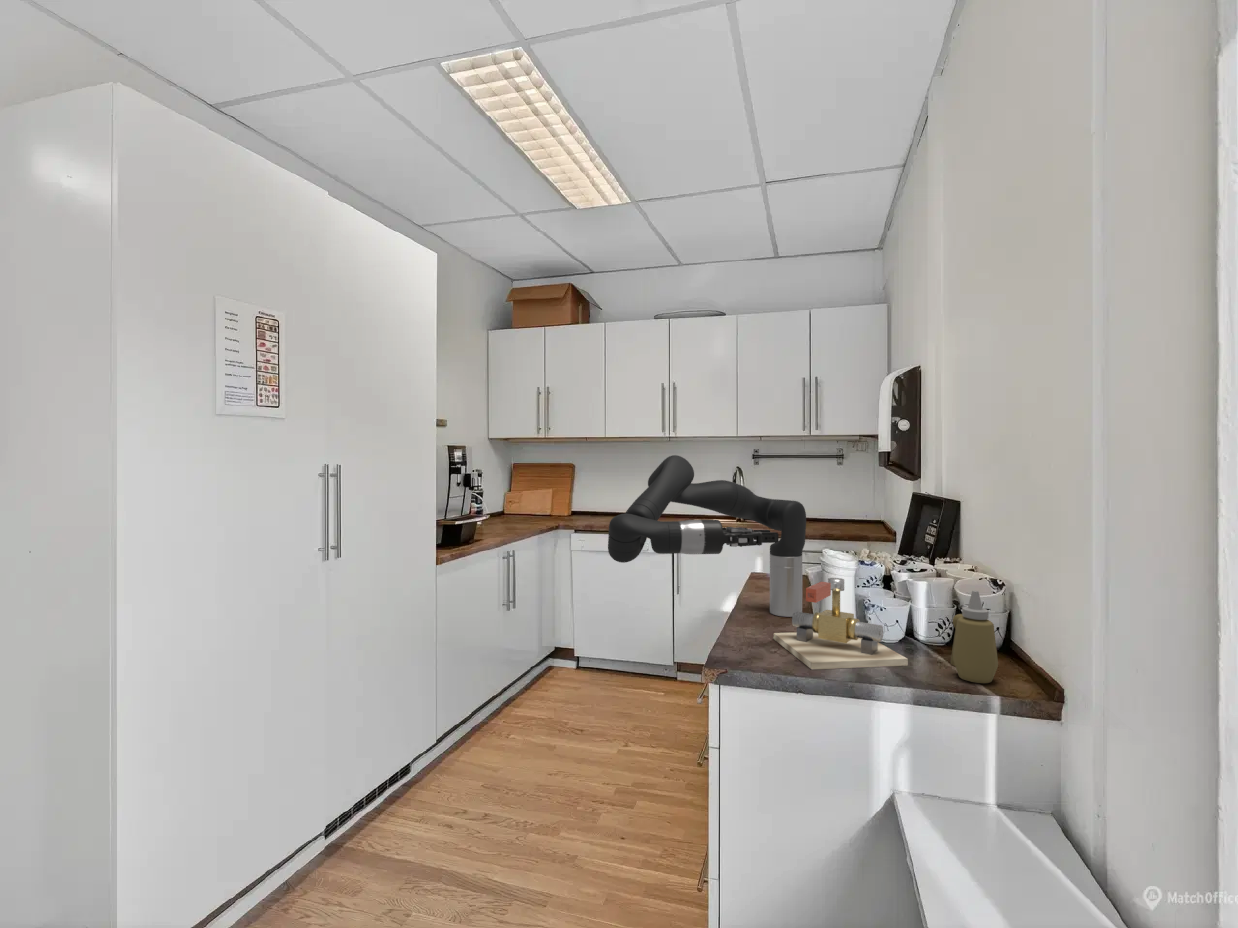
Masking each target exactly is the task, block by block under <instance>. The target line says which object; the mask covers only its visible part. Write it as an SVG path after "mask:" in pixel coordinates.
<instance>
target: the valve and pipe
mask: <svg viewBox="0 0 1238 928" xmlns="http://www.w3.org/2000/svg"><path fill="white" fill-rule="evenodd" d="M791 624H792V626H793V627H796V632H797V640H798V641H803V642H807V641H809V640H811V639H812V638H813V632H814V633H818V638H821V639H826V640H831V641H837V642H842V643H847V642H849V641H850V640H851V639H852V640H858V638H862V639H861V653H865V654H870V655H873V654H874V653H875V652H876V651H877V650H878V643H881V642H882V640H883V638H884V637H883V636H884V626H883V625H881V624H874V623H868V622H863V621H860V619H859V618H855V614H854V613H851V612H845V611H841V591H832V590H831V610H830V609H825V610H824V611H822V612H815V613H807V612H803V611H802V612H796V611H795V612H794V613H793V616H792V617H791Z"/></svg>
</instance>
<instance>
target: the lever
mask: <svg viewBox="0 0 1238 928" xmlns="http://www.w3.org/2000/svg"><path fill="white" fill-rule="evenodd" d="M832 591H840V592H844V591H845V578H843V577H841V578H840V577H828V578H827V581H819V582H817V583H814V584H812V585H810V586H807V587H806V588H805V602H808V603H809V602H810V603H815V604H816V603H819V602H821V601H823V600H824V599H826V598H829V597H831V596H832Z"/></svg>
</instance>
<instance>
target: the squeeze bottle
mask: <svg viewBox="0 0 1238 928" xmlns="http://www.w3.org/2000/svg"><path fill="white" fill-rule="evenodd" d="M961 608H962V612H961V614H962V616H964V617H961V618H959V619H957V626H956V634H955V633H954V636H955V643H954V651H953V661H954V663H955V666H956V667H955V666H954V667H955V668H956V672H957V674H958V677H959V678H960V679H961V680H964V681H968V682H971V683H978V684H989V683H992V682H993V679H994V676H995V675H996V672H997V670H998V667H999V661H998V659H999V658H998V651H997V649H998V648H997V642H996V641H997V639H996V632H995V624H994V623H993V622H992V620H989V614H990V613H989V612H990V611H989V610H988V609H986V608H983V605H982V601H981V597H980V592H979V590H978V591H977V590H972V591H971V593H970V598H969V602H968V605H967V606H963V607H961Z"/></svg>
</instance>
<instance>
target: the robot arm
mask: <svg viewBox="0 0 1238 928" xmlns="http://www.w3.org/2000/svg"><path fill="white" fill-rule="evenodd" d="M694 477H695V470H694V468H693V466H692V464H691V463H690V462H689V461H688V460H687V459H686V458H684V457H683V456H681V455H677V454H674V455H669V456H668V457H666V458H664V460H662V462H661V463H660V464H659V465H657V467H656V468H655V470H654V471H652V473H651V474H650V475H649V478H648V479H647V488H646V489H645V490H644V491H643V492H641V494H640V495H639V496H637V498H636V499H635V500H634V501H633V502H632V504H631V505H630V506H629V507H628V508H627V510H626V511H625V513H621V514H618V515H615V516H614V517H612V518H611V519H610V521H609V524H608V539H607V541H608V542H607V551H608V554H609V556H610V557H611V558H612V560H614V561H615V562H618V563H623V564H624V563H629V562H631V561H634V560H635V559H636V558H638V556H640V554H641V553H642V551H643V548H644V547H645V544H646V542H647V539H649V540H650V545H651V549H652V551H653V553H655V554H662V555H665V554H670V555H671V554H681V555H682V554H683V555H719V554H721V553H722V552H723V548H724V545H725V544H726V545H727V546H729V547H733V548H734V547H735V548H736V547H741V548H742V547H751V546H759V547H760V546H762V545H763V544H765V543H766V544H769V543H771V544H770V545H769V613H770V614H771V615H775V616H779V617H788V618H789V617H790V618H792V616H793V613H794V612H795V611H796V612H802V613H803V550H804V547H805V543H806V533H807V532H806V531H807V513H806V509H805V506H804V504H803V503H801V502H800V501H798V500H788V499H778V498H777V499H774V498H766V497H763V496H759V495H757V494H755V493H753V491H752V490H750V489H749V488H747V487H746V486H744V485H742V484H739V483H736V482H734V481H733V482H732V481H730V480H724V479H723V480H722V479H720V480H719V479H717V480H711V481H710V480H708V481H705V482H698V483H697V482H696V483H694V482H693V480H694ZM670 503H677V504H682V505H689V506H694V507H698V508H702V509H706V510H710V511H713V512H716V513H719V514H721V515H725V516H729V517H732V518H736V519H743V520H751V521H753V522H756V523H758V524H760V525H763V526H765V527H768V528H770V529H772V530H775V531H773V532H772V531H771V530H769V529H754V528H753V529H752V528H747V527H740V526H739V527H733V526H726V527H723V524H722V522H721V521H720V520H719V519H686V520H676V521H675V520H674V521H669V520H668V521H666V520H665V521H662V520H659V519H660V517H662V515H663V514H664V511H665V510H666V509H667V507H668V506H669V504H670ZM777 531H779V532H780V539H779V533H778V532H777Z"/></svg>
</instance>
